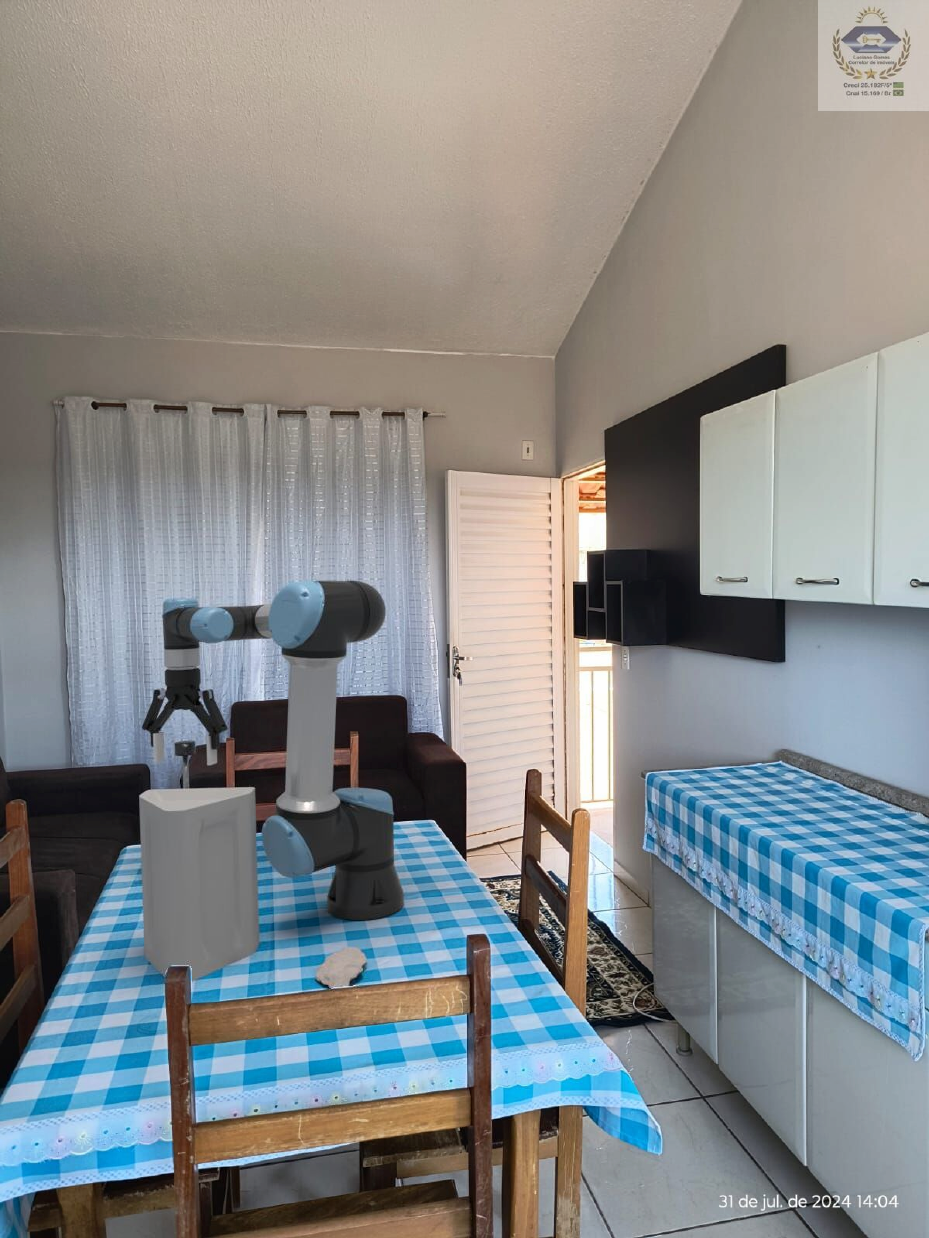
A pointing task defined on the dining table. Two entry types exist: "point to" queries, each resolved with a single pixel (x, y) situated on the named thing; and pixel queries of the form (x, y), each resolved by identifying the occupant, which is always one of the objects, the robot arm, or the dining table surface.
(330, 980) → the stone tool
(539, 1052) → the dining table surface
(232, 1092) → the dining table surface
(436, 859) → the dining table surface
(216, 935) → the grey triangular prism
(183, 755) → the plunger
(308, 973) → the dining table surface
